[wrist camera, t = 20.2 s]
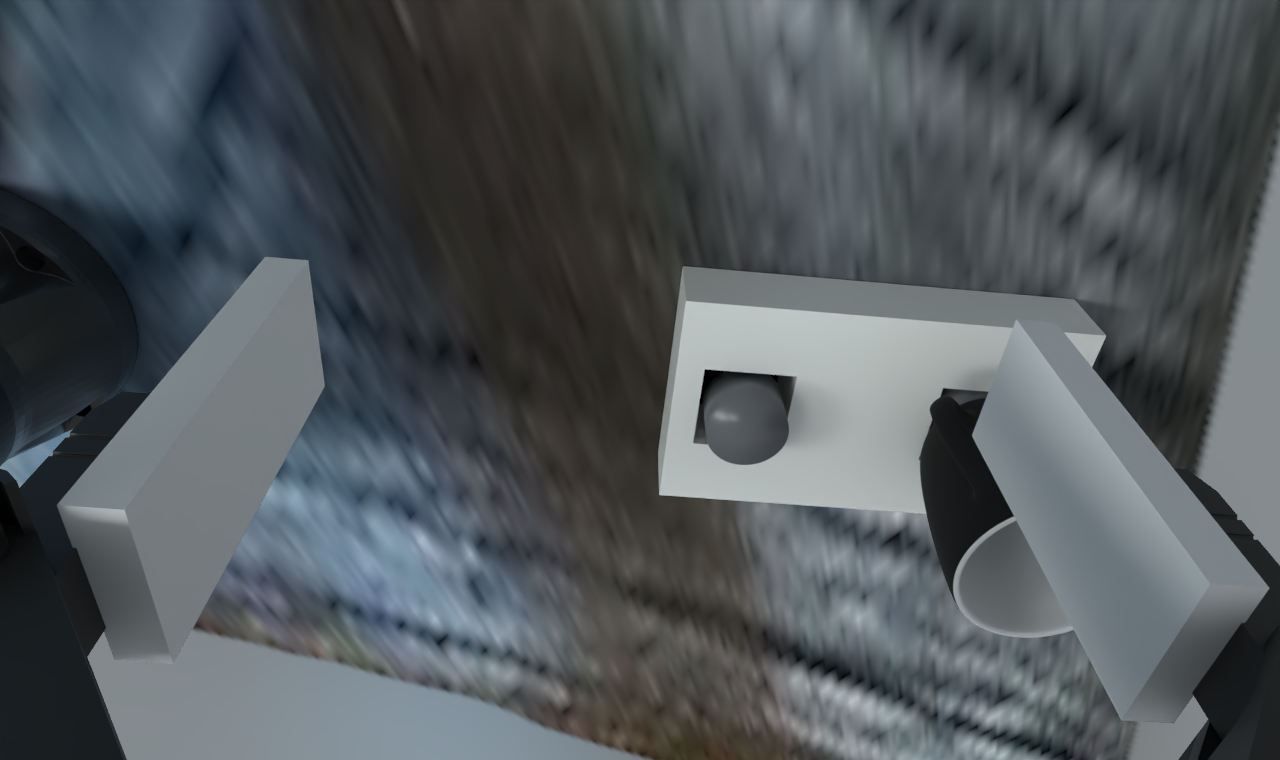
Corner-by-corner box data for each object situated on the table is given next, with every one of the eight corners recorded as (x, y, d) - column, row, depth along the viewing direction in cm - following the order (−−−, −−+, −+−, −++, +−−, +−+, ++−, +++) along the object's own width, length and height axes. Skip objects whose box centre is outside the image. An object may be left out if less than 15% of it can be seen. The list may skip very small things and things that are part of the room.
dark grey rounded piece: (697, 428, 49) (701, 461, 47) (708, 364, 47) (712, 395, 44) (773, 434, 50) (780, 467, 47) (787, 370, 47) (796, 402, 45)
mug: (1088, 451, 49) (1181, 585, 41) (946, 524, 52) (1005, 663, 44) (991, 307, 44) (1074, 426, 35) (840, 398, 47) (883, 527, 39)
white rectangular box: (657, 456, 54) (658, 498, 51) (682, 265, 47) (685, 301, 44) (997, 481, 55) (1020, 524, 52) (1074, 299, 48) (1106, 335, 45)
